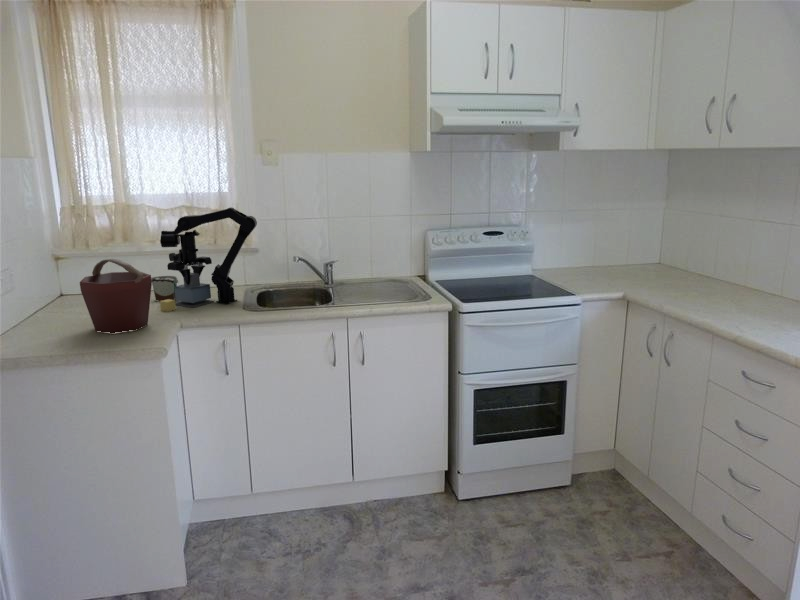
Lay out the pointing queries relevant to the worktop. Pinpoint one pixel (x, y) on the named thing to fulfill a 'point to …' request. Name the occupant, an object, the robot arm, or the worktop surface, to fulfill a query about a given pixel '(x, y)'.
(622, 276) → the worktop surface
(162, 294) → the food container
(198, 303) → the mat
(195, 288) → the cover
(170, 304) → the block
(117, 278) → the bucket
